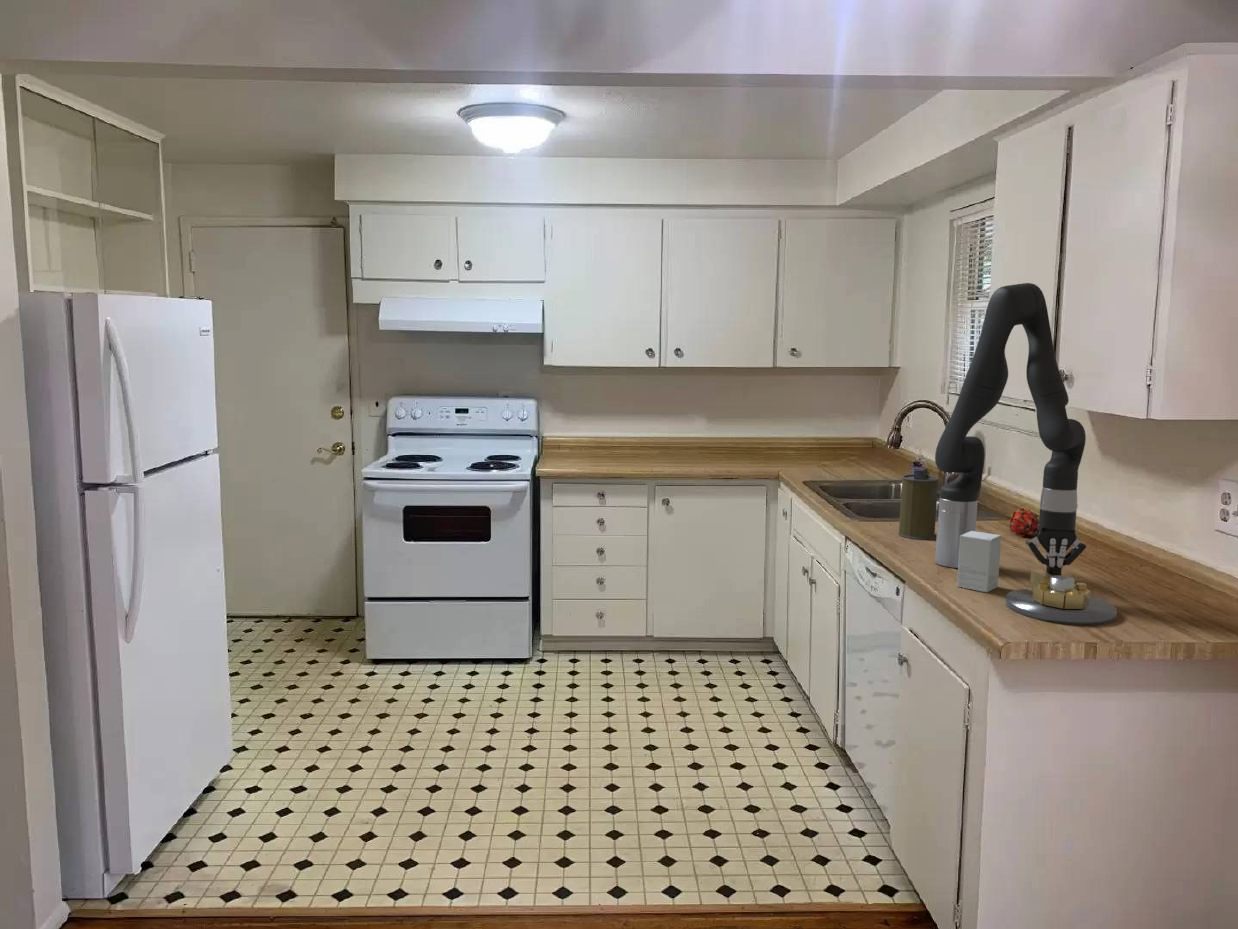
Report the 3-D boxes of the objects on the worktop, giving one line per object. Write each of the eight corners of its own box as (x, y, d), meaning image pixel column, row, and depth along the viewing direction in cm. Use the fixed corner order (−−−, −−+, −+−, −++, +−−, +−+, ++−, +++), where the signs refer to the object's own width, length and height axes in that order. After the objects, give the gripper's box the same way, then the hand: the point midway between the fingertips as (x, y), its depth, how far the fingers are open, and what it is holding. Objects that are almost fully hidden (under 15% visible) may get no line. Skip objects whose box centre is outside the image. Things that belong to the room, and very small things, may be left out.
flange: (987, 595, 215) (989, 565, 214) (1078, 594, 217) (1081, 565, 216) (1038, 626, 193) (1041, 593, 192) (1139, 624, 195) (1142, 592, 194)
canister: (930, 541, 268) (935, 472, 265) (893, 536, 274) (898, 468, 271) (939, 534, 277) (943, 467, 274) (903, 529, 283) (907, 464, 280)
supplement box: (998, 587, 222) (1002, 535, 220) (986, 593, 216) (991, 540, 214) (967, 581, 227) (971, 529, 225) (955, 587, 221) (959, 534, 219)
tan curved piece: (1097, 608, 200) (1099, 589, 199) (1049, 608, 199) (1051, 589, 198) (1056, 587, 216) (1057, 569, 215) (1012, 587, 215) (1013, 569, 215)
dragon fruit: (1021, 535, 285) (1028, 550, 274) (998, 518, 285) (1005, 532, 274) (1041, 515, 282) (1049, 529, 271) (1018, 498, 282) (1026, 511, 271)
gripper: (1083, 505, 214) (1077, 579, 217) (1022, 503, 216) (1017, 577, 218) (1095, 511, 207) (1089, 588, 209) (1032, 509, 209) (1027, 585, 211)
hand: (1052, 582), depth 214 cm, fingers closed
